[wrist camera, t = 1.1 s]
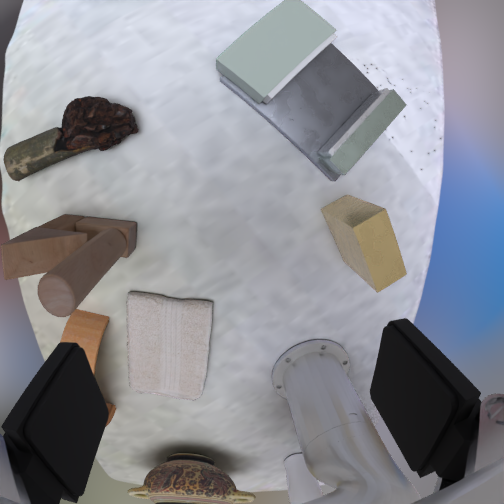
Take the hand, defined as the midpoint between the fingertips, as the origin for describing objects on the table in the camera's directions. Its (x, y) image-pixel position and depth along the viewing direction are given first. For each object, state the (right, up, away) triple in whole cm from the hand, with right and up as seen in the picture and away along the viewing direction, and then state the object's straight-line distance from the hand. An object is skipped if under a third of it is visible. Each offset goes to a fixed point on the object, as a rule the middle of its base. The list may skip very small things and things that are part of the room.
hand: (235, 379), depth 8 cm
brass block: (+13, +7, +30) cm, 33 cm away
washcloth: (-12, -10, +33) cm, 37 cm away
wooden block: (-19, +7, +27) cm, 34 cm away
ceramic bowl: (-12, -39, +42) cm, 59 cm away
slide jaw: (+3, +26, +21) cm, 33 cm away
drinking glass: (+10, -41, +45) cm, 61 cm away
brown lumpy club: (-27, +17, +25) cm, 41 cm away
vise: (+8, +23, +24) cm, 34 cm away
